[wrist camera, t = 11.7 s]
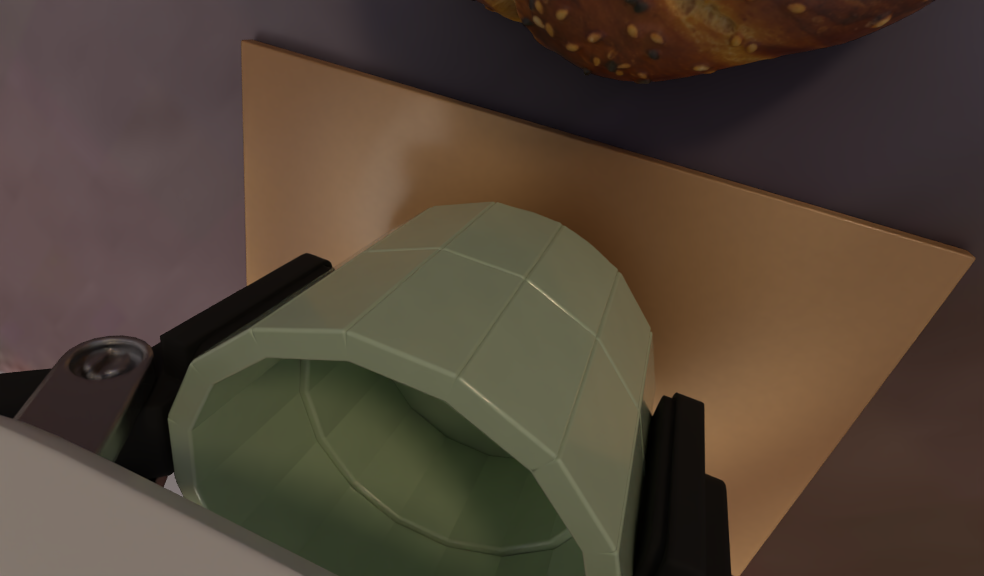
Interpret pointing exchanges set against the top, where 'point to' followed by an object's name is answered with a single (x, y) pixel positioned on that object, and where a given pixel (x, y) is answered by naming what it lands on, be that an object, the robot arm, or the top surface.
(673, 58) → the seeded bagel
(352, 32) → the top surface
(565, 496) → the green cup
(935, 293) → the cork mat
